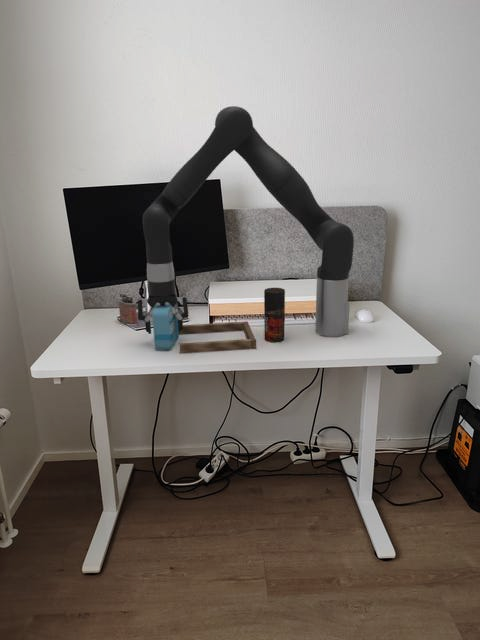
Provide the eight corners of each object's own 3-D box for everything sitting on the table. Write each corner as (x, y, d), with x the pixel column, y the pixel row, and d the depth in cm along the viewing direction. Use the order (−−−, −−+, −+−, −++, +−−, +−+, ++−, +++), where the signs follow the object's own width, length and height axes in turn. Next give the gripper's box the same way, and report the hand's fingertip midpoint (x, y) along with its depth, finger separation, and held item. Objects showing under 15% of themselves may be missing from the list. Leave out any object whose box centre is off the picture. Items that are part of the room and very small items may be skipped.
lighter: (140, 324, 167) (138, 295, 164) (132, 327, 165) (129, 297, 161) (126, 319, 172) (123, 290, 169) (117, 322, 170) (114, 292, 167)
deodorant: (260, 339, 152) (260, 290, 147) (273, 334, 156) (273, 286, 151) (275, 344, 148) (276, 294, 143) (288, 338, 152) (289, 289, 147)
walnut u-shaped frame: (247, 328, 161) (247, 321, 160) (256, 348, 145) (256, 340, 144) (178, 333, 159) (178, 325, 158) (179, 353, 143) (179, 345, 142)
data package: (170, 351, 144) (167, 310, 140) (154, 351, 145) (151, 310, 141) (179, 336, 156) (177, 298, 152) (164, 336, 156) (162, 298, 152)
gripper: (186, 273, 148) (188, 326, 153) (135, 275, 146) (140, 329, 152) (186, 279, 141) (189, 335, 146) (134, 282, 139) (139, 338, 145)
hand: (164, 332), depth 149 cm, fingers open, 8 cm apart
